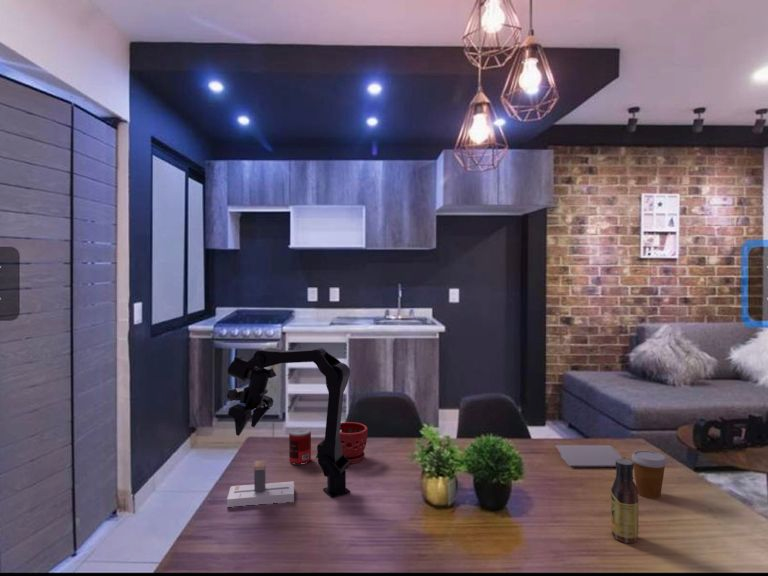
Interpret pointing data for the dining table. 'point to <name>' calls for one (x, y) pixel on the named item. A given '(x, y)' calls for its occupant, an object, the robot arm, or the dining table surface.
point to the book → (589, 455)
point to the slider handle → (259, 475)
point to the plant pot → (353, 441)
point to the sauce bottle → (624, 503)
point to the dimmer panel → (261, 494)
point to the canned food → (300, 445)
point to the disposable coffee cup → (649, 472)
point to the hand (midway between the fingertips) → (245, 430)
